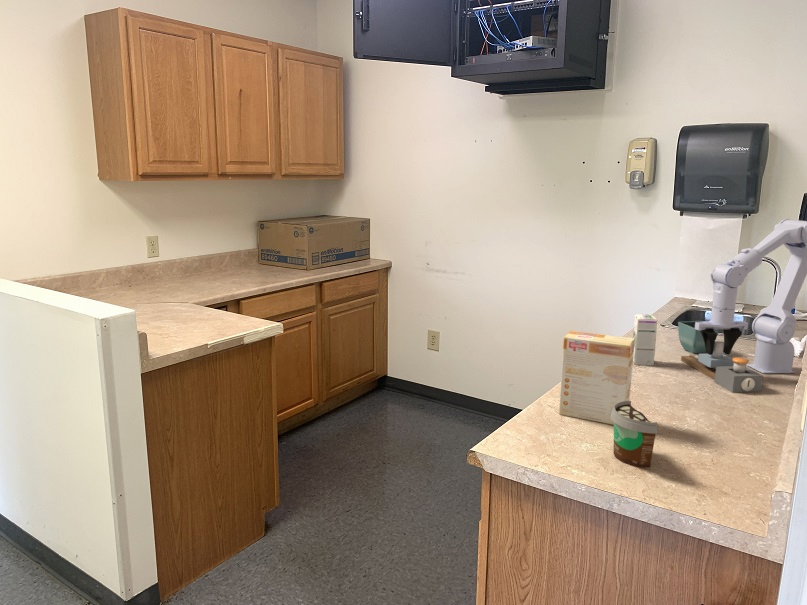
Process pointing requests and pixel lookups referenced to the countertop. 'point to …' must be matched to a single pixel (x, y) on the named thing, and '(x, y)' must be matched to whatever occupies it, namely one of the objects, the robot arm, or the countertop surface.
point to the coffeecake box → (595, 375)
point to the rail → (698, 365)
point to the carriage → (716, 357)
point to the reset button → (739, 365)
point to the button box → (738, 379)
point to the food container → (633, 435)
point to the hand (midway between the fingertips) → (717, 353)
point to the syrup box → (644, 339)
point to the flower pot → (691, 337)
